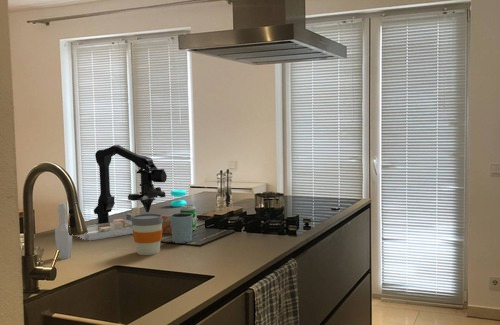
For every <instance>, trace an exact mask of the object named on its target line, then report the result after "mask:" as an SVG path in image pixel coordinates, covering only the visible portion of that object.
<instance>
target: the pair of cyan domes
mask: <svg viewBox="0 0 500 325" xmlns="http://www.w3.org/2000/svg"><path fill="white" fill-rule="evenodd" d="M170 195H171V196H172V197H176V198H177V197H179V198H180V197H184V196H186V195H187V190H186V189H174V190H171V192H170ZM187 204H188V202H187V201H186V200H184V199H176V200H173V201H171V203H170V205H171V206H172V207H174V208H181V207H182V206H184V205H187Z"/></svg>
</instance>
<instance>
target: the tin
mask: <svg viewBox="0 0 500 325" xmlns="http://www.w3.org/2000/svg"><path fill="white" fill-rule="evenodd" d="M162 220H163V223H162V234H167V235H168V234H169V235H172V228H171V219H170V215H162Z"/></svg>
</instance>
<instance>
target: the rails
mask: <svg viewBox="0 0 500 325" xmlns="http://www.w3.org/2000/svg"><path fill="white" fill-rule="evenodd" d="M124 220H125V224H126V223H128V224H131V225H132V221H129V220H126V219H124ZM112 222H113V221H109V223H102V224H90V225H86V226H87V228H89V227H96V226H98V231H99V227H106V226H110V223H112ZM128 235H133V227H127V228H121V229H114V230H107V231H101V232H94V233H88V234H87V240H86V241H88V240H89V241H95V240H102V239H109V238H115V237H121V236H128ZM89 241H88V242H89Z"/></svg>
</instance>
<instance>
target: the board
mask: <svg viewBox="0 0 500 325" xmlns="http://www.w3.org/2000/svg"><path fill="white" fill-rule="evenodd" d="M127 227H133V225H131V224H128V223H126V224H125V226H123V228H127ZM107 230H112V229H110V226H106V227H99V231H107Z"/></svg>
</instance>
